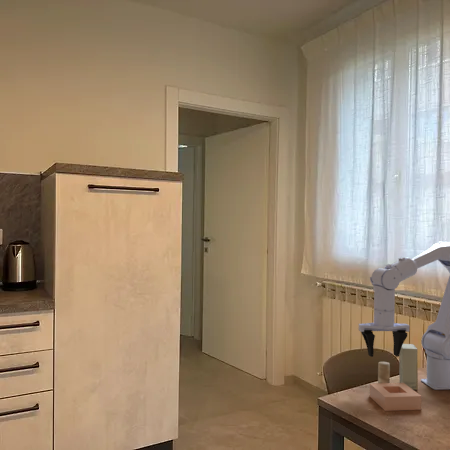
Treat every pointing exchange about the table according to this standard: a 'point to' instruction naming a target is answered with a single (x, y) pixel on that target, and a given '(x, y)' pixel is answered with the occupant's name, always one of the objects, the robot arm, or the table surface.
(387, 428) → the table surface
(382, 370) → the beech peg
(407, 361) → the skincare box
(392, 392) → the socket block
